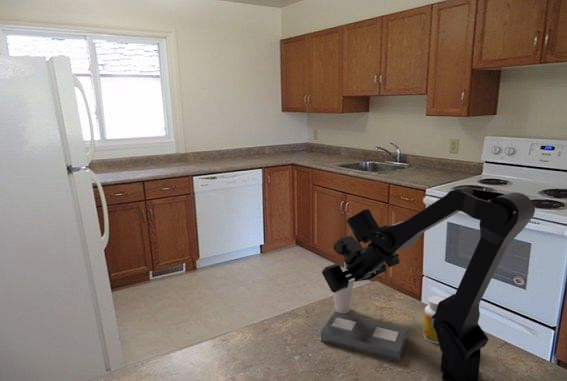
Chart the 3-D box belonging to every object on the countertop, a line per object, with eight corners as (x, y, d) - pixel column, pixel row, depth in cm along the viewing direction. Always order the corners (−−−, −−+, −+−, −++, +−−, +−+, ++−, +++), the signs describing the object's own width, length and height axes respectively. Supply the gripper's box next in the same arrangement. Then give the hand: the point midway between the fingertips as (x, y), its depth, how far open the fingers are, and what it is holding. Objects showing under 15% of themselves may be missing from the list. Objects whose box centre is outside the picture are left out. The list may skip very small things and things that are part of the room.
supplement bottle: (422, 329, 93) (425, 293, 91) (446, 333, 91) (449, 296, 89) (423, 342, 88) (425, 303, 86) (448, 346, 86) (451, 307, 84)
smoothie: (354, 316, 99) (355, 267, 96) (329, 314, 100) (330, 265, 98) (354, 305, 105) (355, 257, 103) (331, 303, 107) (332, 256, 104)
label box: (406, 337, 90) (407, 327, 89) (398, 362, 81) (399, 350, 80) (334, 320, 98) (335, 310, 97) (320, 340, 89) (320, 330, 88)
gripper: (379, 223, 100) (348, 250, 111) (327, 237, 90) (299, 266, 101) (402, 259, 96) (368, 284, 107) (350, 279, 85) (318, 304, 96)
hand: (339, 283), depth 103 cm, fingers closed on smoothie, 6 cm apart
